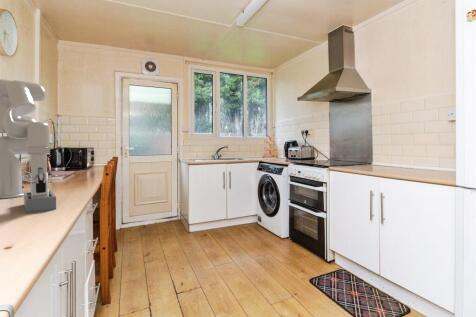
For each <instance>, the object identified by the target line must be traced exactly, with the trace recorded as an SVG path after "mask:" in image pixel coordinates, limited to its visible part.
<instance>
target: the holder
mask: <svg viewBox="0 0 476 317" xmlns="http://www.w3.org/2000/svg"><path fill="white" fill-rule="evenodd" d="M48 190H49V189H48ZM23 207H24V210H25V214H29V213H37V212H44V211H45V212H46V211H52V210H57V196H56V195H55V193H54V192H53V191H52V190H49V197H43V198H34V199H31V191H27V192H26V193H24V196H23Z"/></svg>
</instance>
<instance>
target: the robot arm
mask: <svg viewBox="0 0 476 317" xmlns="http://www.w3.org/2000/svg"><path fill="white" fill-rule="evenodd" d="M45 98H46V91H45V88H44V87H43V86H42V85H41V84H39V83H37V82H36V83H35V82H28V81H23V80H9V79H0V133H2V134H6V135H2V136H0V199H12V198H19V197H24V193H26V192H25V191H23V176H22V174H23V172H22V162H21V160H20V159H19V158H18V157H17V156H16V155H27V156H30V174H31V175H32V178H33V179H34V177H36V181H37V183H36V193H44V192H46V183H45V177H46V176H47V173H48V165H47V164H48V163H47V162H48V158H47V155H51V149H50V148H51V146H50V144H51V142H50V125H49V123H46V122H42V121H41V122H40V121H36V119H35V118H33V117H31V116H26V115H30V114H32V113H33V112H35V110H36V107H37V106H36V103H35V102H43V101H44V100H45ZM44 174H45V175H44Z"/></svg>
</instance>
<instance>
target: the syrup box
mask: <svg viewBox="0 0 476 317" xmlns="http://www.w3.org/2000/svg"><path fill="white" fill-rule="evenodd" d="M29 174H30V175H29V177H30V179H29V180H30V192H31V199H34V198H43V197H49V176H48V175H49V174H48V172H47V176H46V177H45V183H46V192H44V193H36V183H37V181H36V177H34V179H33V178H32V175H31V173H29ZM44 175H45V174H44Z"/></svg>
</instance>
